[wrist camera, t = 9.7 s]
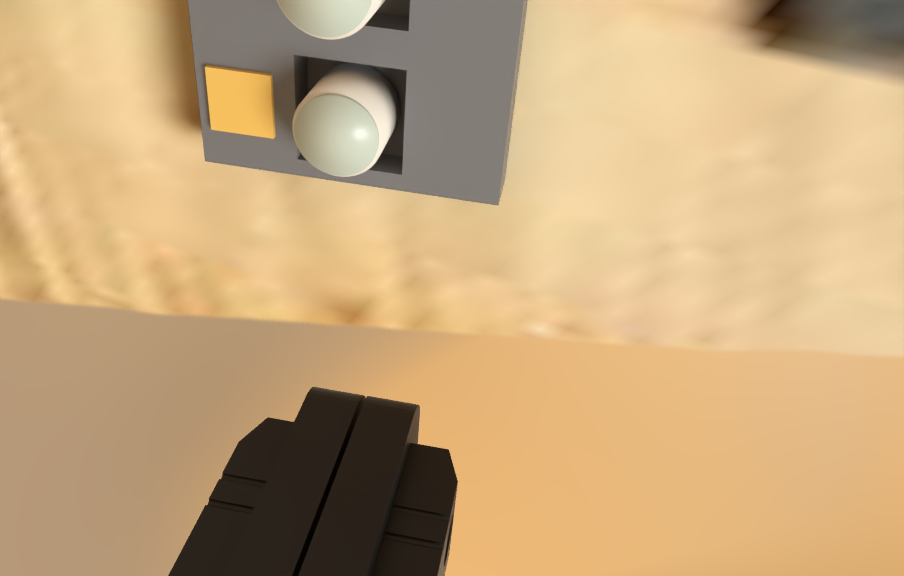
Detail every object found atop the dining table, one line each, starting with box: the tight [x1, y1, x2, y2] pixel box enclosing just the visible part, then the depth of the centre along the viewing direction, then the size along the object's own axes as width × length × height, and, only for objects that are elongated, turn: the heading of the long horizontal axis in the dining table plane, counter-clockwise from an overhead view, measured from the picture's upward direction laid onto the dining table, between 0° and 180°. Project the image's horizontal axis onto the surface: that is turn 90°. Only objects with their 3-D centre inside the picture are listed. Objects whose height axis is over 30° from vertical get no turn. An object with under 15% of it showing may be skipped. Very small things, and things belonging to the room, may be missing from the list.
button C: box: [292, 63, 400, 177], centre depth 44 cm, size 5×5×4 cm
